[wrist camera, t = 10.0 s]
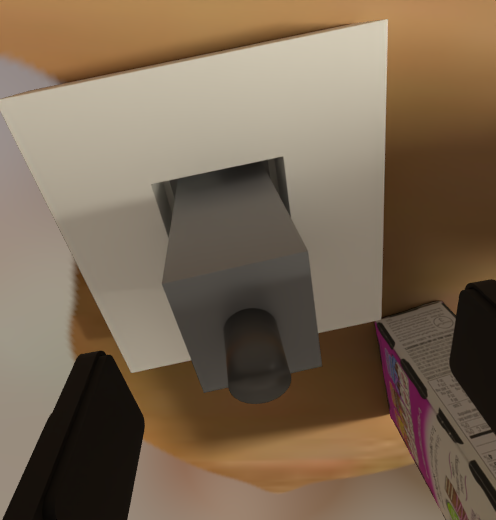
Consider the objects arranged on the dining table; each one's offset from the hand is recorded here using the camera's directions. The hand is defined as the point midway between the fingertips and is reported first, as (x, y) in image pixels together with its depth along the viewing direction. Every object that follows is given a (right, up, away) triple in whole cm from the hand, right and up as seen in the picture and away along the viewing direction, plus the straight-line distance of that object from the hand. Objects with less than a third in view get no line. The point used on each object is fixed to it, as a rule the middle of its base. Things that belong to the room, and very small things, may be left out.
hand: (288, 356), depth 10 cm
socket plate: (-2, +5, +9) cm, 11 cm away
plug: (-2, +5, +9) cm, 10 cm away
